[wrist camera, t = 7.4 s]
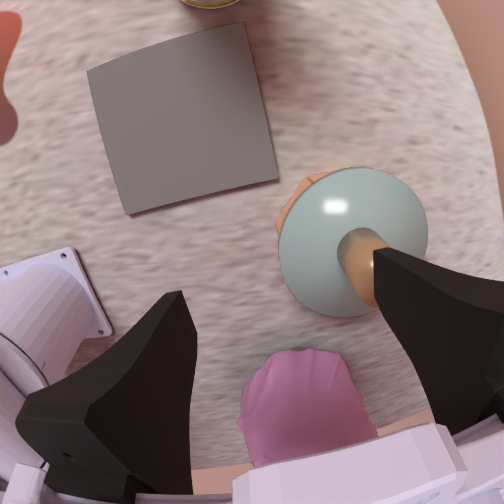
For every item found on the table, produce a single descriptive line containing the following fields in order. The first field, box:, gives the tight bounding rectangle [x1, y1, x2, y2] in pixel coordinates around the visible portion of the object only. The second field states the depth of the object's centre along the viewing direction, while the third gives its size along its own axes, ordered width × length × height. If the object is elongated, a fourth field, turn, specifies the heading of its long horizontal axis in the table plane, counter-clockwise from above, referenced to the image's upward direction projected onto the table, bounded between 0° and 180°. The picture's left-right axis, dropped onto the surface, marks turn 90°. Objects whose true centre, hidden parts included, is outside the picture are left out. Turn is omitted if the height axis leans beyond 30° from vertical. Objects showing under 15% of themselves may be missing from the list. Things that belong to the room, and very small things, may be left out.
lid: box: [278, 167, 428, 318], centre depth 16 cm, size 9×9×4 cm
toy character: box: [237, 347, 378, 468], centre depth 18 cm, size 12×10×20 cm
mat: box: [87, 22, 278, 215], centre depth 18 cm, size 10×10×1 cm
